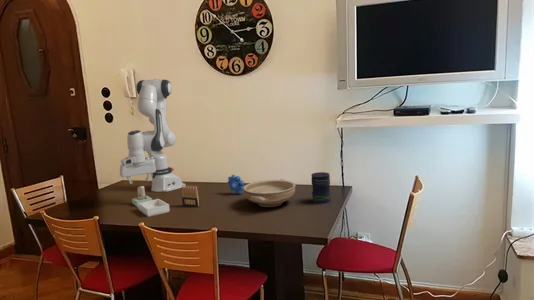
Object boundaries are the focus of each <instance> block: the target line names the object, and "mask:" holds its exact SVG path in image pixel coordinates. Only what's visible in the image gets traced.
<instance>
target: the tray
mask: <svg viewBox="0 0 534 300" xmlns="http://www.w3.org/2000/svg"><path fill="white" fill-rule="evenodd" d="M137 209H138V211H139V212H140V213H142V214H143V215H145V216H146V217H148V218H149V217H154V216H157V215H161V214H166V213H170V211H171V210H170V204H169V203H167V202H165V201H164V200H162V199H160V198H156V199H152V200H151V201H146V202H141V203H138V207H137Z"/></svg>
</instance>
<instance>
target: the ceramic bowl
mask: <svg viewBox="0 0 534 300" xmlns="http://www.w3.org/2000/svg"><path fill="white" fill-rule="evenodd" d="M243 186H244V187H243V190H242V191H243V195H244V197H245V198H246V199H247V200H248V201H249V202H252V203H254V204H258V206H260V207H263V208H274V207H279V206H281V205H282V204H283V202H284V203H285V202H286V201H288V200H290V199H291V198H292V197H293V196H294V195H295V192H296V183H295V182H293V181H291V180H286V179H282V178H280V179H263V180H257V181H252V182H250V183H248V184H245V185H243Z"/></svg>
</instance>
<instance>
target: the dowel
mask: <svg viewBox="0 0 534 300" xmlns="http://www.w3.org/2000/svg"><path fill="white" fill-rule="evenodd" d="M136 189H137V197H138V200H143V199H146V198H145V196H146V192H145V186H144V185H139V186H137V187H136Z"/></svg>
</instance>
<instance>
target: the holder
mask: <svg viewBox="0 0 534 300" xmlns="http://www.w3.org/2000/svg"><path fill="white" fill-rule="evenodd" d="M145 198H146V199H143V200H138V196H137V197H133V198H132V199H131V203H132V204H133V205H134V206H135V207H137V208H138V203H141V202H146V201H151V200H153V198H152V197H150V196H148V195H145Z"/></svg>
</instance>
